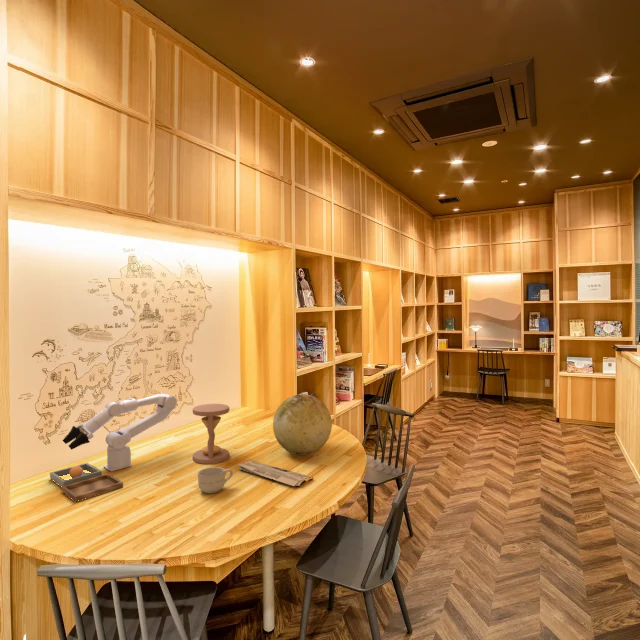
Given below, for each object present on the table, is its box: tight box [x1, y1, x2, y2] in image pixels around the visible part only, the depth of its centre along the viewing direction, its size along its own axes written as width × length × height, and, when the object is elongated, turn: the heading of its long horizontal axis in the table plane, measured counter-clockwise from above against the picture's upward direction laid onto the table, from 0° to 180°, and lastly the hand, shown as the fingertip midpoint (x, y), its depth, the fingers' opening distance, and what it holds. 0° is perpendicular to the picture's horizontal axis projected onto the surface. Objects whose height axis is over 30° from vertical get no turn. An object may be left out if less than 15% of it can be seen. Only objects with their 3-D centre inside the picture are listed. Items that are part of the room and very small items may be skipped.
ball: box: [69, 465, 83, 478], centre depth 179 cm, size 5×5×5 cm
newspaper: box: [236, 460, 314, 487], centre depth 184 cm, size 35×12×4 cm, turn 57°
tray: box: [61, 473, 124, 502], centre depth 169 cm, size 18×14×2 cm
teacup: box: [197, 466, 234, 494], centre depth 169 cm, size 14×11×8 cm
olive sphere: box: [272, 393, 333, 456], centre depth 212 cm, size 30×30×30 cm
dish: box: [49, 462, 103, 487], centre depth 179 cm, size 15×15×3 cm
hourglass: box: [192, 403, 230, 465], centre depth 205 cm, size 18×18×25 cm
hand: (66, 445), depth 178 cm, fingers open, 7 cm apart
